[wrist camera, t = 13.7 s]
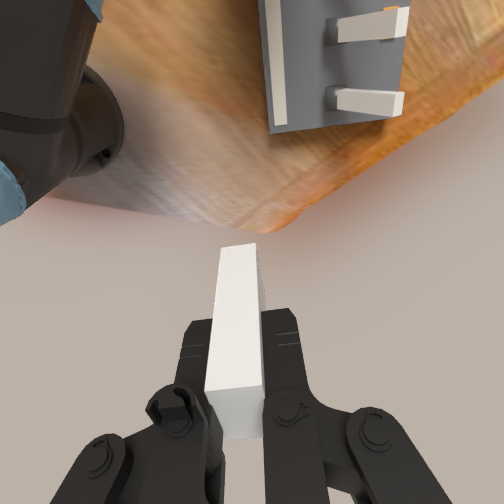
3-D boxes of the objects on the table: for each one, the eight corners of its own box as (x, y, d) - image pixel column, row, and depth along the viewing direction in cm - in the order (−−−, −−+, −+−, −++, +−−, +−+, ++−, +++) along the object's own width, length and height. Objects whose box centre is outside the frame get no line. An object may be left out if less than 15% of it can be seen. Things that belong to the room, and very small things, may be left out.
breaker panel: (268, 128, 43) (270, 134, 40) (250, -76, 31) (250, -87, 29) (386, 113, 42) (395, 118, 39) (410, -104, 30) (426, -118, 28)
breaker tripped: (320, 46, 34) (388, 41, 26) (320, 19, 33) (392, 5, 25) (339, 43, 35) (410, 37, 27) (339, 17, 33) (415, 2, 25)
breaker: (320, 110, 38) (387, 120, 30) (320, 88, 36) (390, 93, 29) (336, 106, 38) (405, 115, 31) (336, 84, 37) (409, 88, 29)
